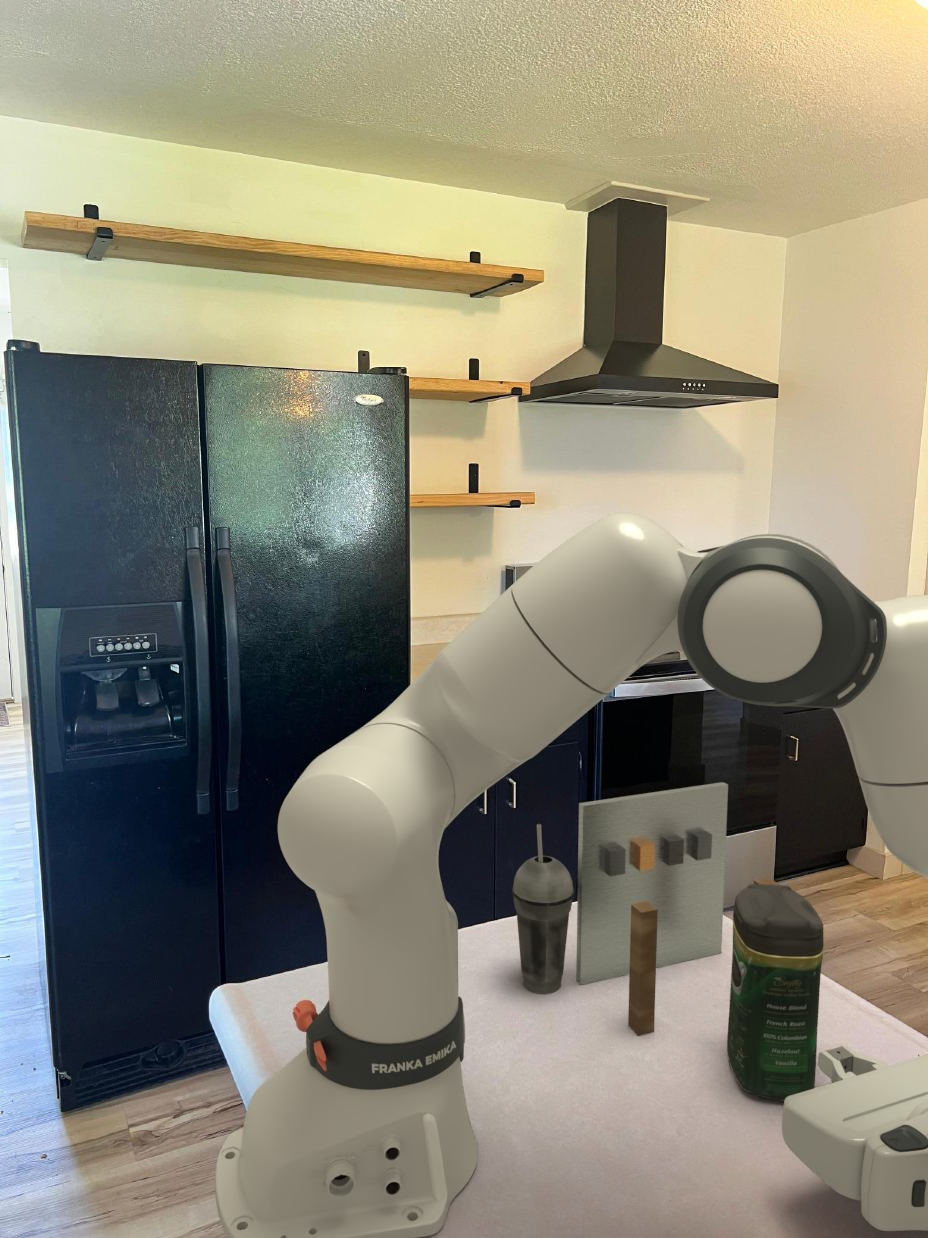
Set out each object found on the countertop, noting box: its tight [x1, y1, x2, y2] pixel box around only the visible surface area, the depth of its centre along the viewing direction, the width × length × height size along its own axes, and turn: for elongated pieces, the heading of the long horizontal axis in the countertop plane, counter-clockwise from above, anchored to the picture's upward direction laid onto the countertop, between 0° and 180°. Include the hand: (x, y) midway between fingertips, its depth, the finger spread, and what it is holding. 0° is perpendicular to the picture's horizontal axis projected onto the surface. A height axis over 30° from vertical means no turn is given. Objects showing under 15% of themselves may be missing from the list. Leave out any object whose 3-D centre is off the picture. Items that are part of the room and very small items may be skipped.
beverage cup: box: [511, 823, 575, 995], centre depth 104 cm, size 7×7×20 cm
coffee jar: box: [726, 883, 824, 1101], centre depth 88 cm, size 10×8×19 cm
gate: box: [627, 877, 781, 1037], centre depth 99 cm, size 18×2×14 cm, turn 111°
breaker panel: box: [575, 781, 729, 986], centre depth 107 cm, size 20×2×22 cm, turn 111°
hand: (830, 1055), depth 81 cm, fingers closed
